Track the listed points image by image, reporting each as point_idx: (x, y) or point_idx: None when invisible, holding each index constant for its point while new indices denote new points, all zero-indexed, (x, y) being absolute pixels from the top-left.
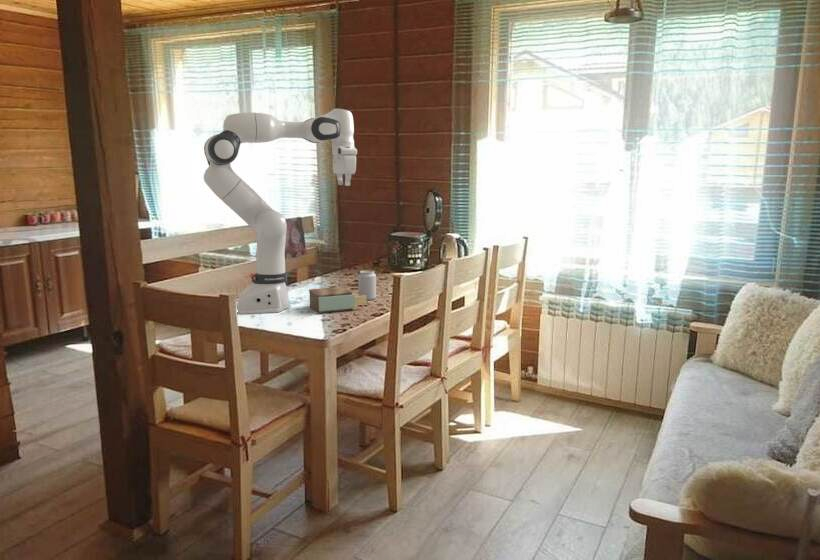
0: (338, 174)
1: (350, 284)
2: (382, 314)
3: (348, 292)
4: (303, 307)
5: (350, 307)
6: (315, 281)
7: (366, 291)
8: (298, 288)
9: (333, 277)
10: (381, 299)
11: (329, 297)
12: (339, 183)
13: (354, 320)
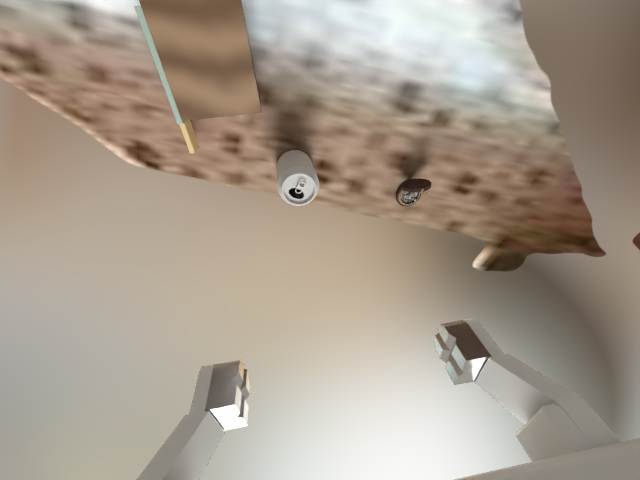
0: (556, 441)
1: (444, 162)
2: (147, 165)
3: (182, 111)
4: None
5: None
6: (524, 88)
7: (277, 168)
8: (476, 19)
9: (533, 141)
10: None
11: (149, 46)
12: (446, 335)
13: (82, 93)
